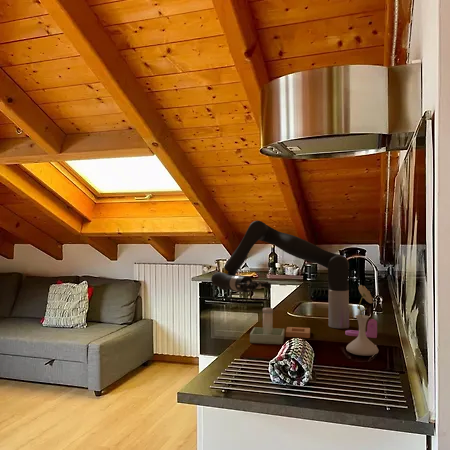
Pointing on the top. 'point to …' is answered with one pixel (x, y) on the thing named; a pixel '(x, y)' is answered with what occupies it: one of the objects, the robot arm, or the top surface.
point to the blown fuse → (267, 321)
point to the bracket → (370, 331)
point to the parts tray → (267, 336)
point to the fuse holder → (298, 332)
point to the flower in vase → (362, 330)
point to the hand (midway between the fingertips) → (263, 286)
